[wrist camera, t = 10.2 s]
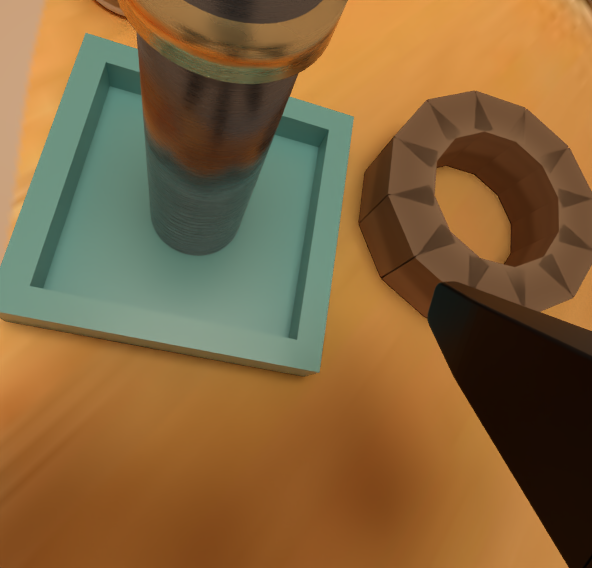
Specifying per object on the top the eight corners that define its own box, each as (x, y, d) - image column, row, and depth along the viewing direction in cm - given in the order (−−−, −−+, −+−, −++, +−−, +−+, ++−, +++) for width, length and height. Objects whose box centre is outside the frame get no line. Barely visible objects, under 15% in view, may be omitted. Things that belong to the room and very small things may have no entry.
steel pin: (258, 256, 19) (393, 20, 8) (150, 271, 17) (122, 13, 6) (237, 162, 20) (332, -173, 8) (133, 170, 18) (82, -213, 7)
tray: (304, 376, 19) (319, 372, 17) (5, 321, 16) (-16, 309, 14) (337, 141, 22) (353, 116, 20) (93, 68, 20) (85, 33, 18)
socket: (546, 345, 22) (602, 335, 19) (349, 300, 20) (379, 282, 17) (544, 162, 25) (591, 130, 22) (372, 107, 23) (401, 65, 20)
